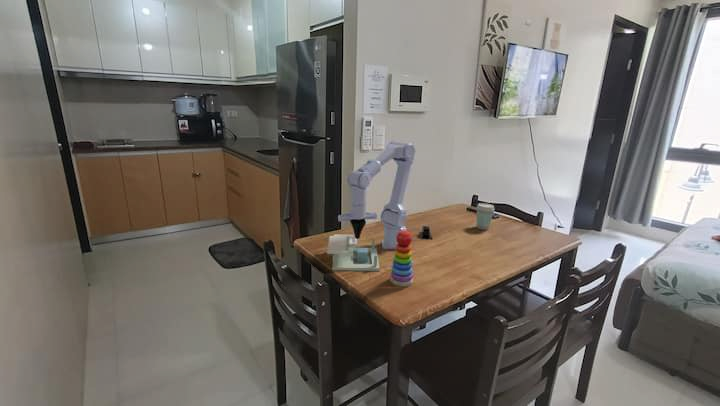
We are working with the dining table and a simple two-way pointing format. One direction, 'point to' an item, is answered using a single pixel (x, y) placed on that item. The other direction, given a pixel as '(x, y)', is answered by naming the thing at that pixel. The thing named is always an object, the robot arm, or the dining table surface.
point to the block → (362, 254)
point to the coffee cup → (484, 215)
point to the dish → (352, 240)
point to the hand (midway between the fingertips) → (357, 237)
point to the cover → (338, 245)
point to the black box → (425, 233)
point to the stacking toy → (402, 261)
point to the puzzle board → (351, 262)
